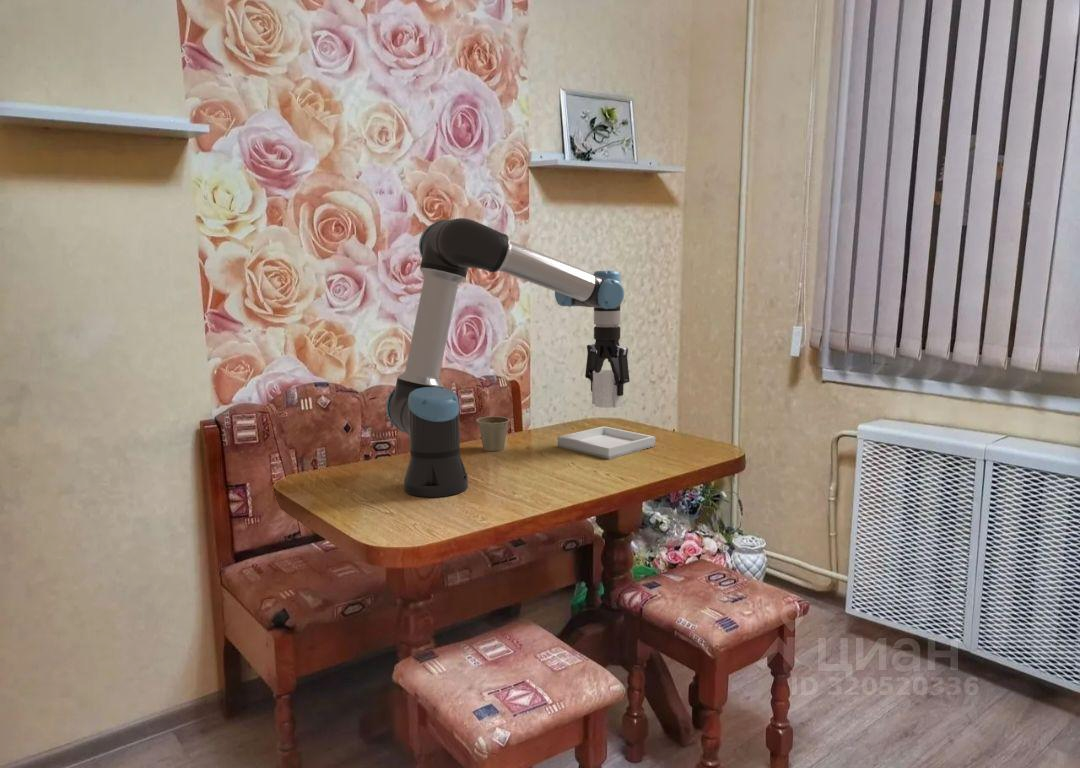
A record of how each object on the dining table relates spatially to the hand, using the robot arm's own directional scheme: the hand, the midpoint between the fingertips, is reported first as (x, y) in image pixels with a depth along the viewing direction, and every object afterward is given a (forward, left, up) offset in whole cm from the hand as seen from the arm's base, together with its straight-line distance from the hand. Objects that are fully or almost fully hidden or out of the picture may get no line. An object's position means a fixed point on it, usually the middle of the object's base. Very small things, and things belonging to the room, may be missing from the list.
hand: (606, 404), depth 215 cm
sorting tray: (0, 0, -12) cm, 12 cm away
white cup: (0, 0, 0) cm, 0 cm away
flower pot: (-25, +21, -13) cm, 35 cm away
